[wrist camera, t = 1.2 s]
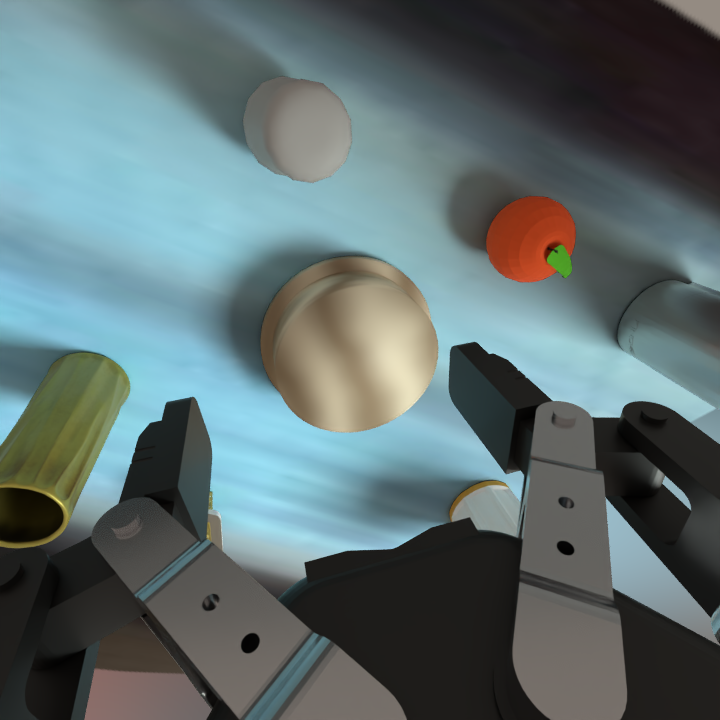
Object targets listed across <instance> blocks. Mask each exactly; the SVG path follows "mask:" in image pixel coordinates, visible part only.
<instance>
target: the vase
mask: <svg viewBox="0 0 720 720" xmlns="http://www.w3.org/2000/svg"><path fill="white" fill-rule="evenodd" d="M129 392H130V382H129V379H128V377H127V375H126V373H125V371H124V370H123V369H122V368H121V367H120V366H119V365H118V364H117V363H115V362H114V361H112V360H111V359H109V358H107V357H104V356H101V355H98V354H93V353H84V352H81V353H73V354H69V355H66V356H63V357H61V358H60V359H58V360H57V361H56V362H54V363H53V364H52V366H51V367H50V369H49V371H48V374H47V375H46V377H45V378H44V380H43V381H42V383H41V384H40V386H39V387H38V389H37V391H36V392H35V394H34V395H33V397H32V399H31V401H30V402H29V404H28V406H27V407H26V409H25V411H24V412H23V414H22V415H21V417H20V418H19V420H18V422H17V423H16V425H15V426H14V427H13V429H12V430H11V432H10V433H9V435H8V436H7V438H6V439H5V441H4V442H3V443H2V445H1V446H0V546H2V547H7V548H26V547H34V546H38V545H42V544H45V543H48V542H50V541H51V540H53V539H55V538H56V537H57V536H59V535H60V534H61V533H62V532H63V531H64V530H65V528H66V526H67V524H68V522H69V520H70V518H71V515H72V513H73V510H74V508H75V506H76V503H77V501H78V499H79V496H80V494H81V492H82V490H83V488H84V486H85V484H86V481H87V479H88V477H89V475H90V473H91V471H92V469H93V467H94V465H95V462H96V460H97V458H98V456H99V454H100V452H101V450H102V448H103V446H104V443H105V441H106V439H107V437H108V435H109V432H110V430H111V428H112V426H113V424H114V422H115V420H116V418H117V416H118V414H119V411H120V408H121V406H122V405H123V404H124V403H125V401H126V399H127V398H128V396H129Z"/></svg>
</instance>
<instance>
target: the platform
mask: <svg viewBox="0 0 720 720" xmlns="http://www.w3.org/2000/svg"><path fill="white" fill-rule="evenodd" d="M210 496H211V497H210ZM212 509H213V508H212V492H210V494H209V508H208V522H207V536H206V537H207V538H206V539H208V540H210V541H211V542H213V543H214V544H215V545H216V546H217V547H218V548H219V549H221V550H222V551H223V540H222V524H221V515H220V513H219V512H218V511H215V510H212Z"/></svg>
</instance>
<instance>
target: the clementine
mask: <svg viewBox="0 0 720 720" xmlns="http://www.w3.org/2000/svg"><path fill="white" fill-rule="evenodd" d="M575 238H576V230H575V223H574V221H573V219H572V217H571V215H570V214H569V212H568V210H567V209H566V208H565V207H564V206H563V205H562V204H560V203H558V202H556V201H554V200H552V199H550V198H548V197H538V196H529V197H524V198H520V199H518V200H516V201H514V202H512V203H510V204H508V205H507V206H505V207H504V208H503V209H502V210H501V211H500V212H499V213H498V214H497V215H496V217H495V218H494V219H493V221H492V223H491V225H490V227H489V230H488V234H487V238H486V248H487V252H488V255H489V259H490V261H491V263H492V264H493V266H494V268H495V269H496V270H497V271H498V272H499V273H501V274H502V275H503V276H505V277H506V278H509V279H512V280H515V281H518V282H536V281H539V280H543V279H545V278H547V277H549V276H551V275H553V274H554V273H556V272H557V271H558V272H559V273H560V274H562V275H563V276H562V277H564V278H567V277H568V276H569V275H570V274H571V271H572V263H571V259H570V256H571V254H572V252H573V249H574V246H575Z"/></svg>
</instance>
